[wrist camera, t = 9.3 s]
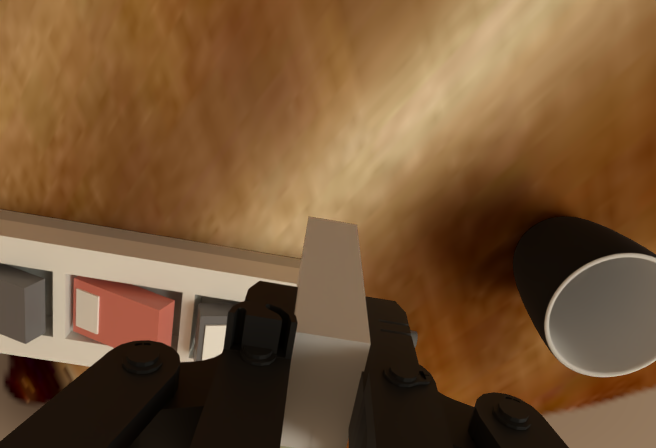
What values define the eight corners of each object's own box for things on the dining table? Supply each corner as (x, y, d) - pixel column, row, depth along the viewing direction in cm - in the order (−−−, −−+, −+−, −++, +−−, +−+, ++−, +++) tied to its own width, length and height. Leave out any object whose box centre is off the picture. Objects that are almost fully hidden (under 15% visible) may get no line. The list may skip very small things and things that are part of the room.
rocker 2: (193, 355, 41) (195, 371, 39) (198, 303, 39) (201, 317, 37) (288, 352, 43) (294, 367, 42) (297, 303, 42) (303, 316, 40)
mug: (483, 292, 44) (523, 364, 35) (519, 190, 41) (575, 239, 31) (619, 319, 45) (696, 398, 35) (665, 221, 42) (762, 278, 32)
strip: (-38, 312, 45) (-80, 344, 41) (-45, 201, 42) (-92, 223, 37) (400, 380, 47) (407, 418, 42) (426, 280, 44) (437, 309, 39)
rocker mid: (90, 320, 43) (71, 331, 41) (91, 269, 41) (72, 278, 39) (170, 353, 41) (153, 366, 39) (174, 300, 39) (158, 311, 37)
